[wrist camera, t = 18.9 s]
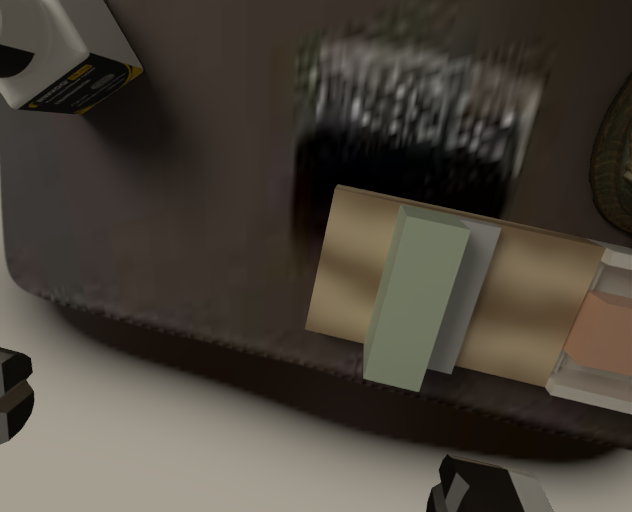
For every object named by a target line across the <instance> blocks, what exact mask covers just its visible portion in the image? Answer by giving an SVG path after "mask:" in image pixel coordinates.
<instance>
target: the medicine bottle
mask: <svg viewBox="0 0 632 512" xmlns="http://www.w3.org/2000/svg"><path fill="white" fill-rule="evenodd" d="M142 72H143V67H142V65H141V64H140V62H139V60H138V58H137V57H136V55H135V53H134V52H133V50H132V48H131V46H130V45H129V43H128V41H127V40H126V38H125V36H124V34H123V33H122V31H121V29H120V28H119V26H118V24H117V22H116V21H115V19H114V17H113V16H112V14H111V12H110V10H109V9H108V7H107V5H106V4H105V2H104V0H0V92H1V94H2V95H3V97H4V98H5V100H6V101H7V103H8V104H9V106H10V107H11V108H14V109H19V110H31V111H43V112H55V113H67V114H79V115H80V114H83V113H85V112H86V111H88V110H89V109H90V108H92V107H93V106H95V105H96V104H98V103H99V102H101V101H102V100H103V99H105V98H106V97H108V96H109V95H111V94H112V93H114V92H115V91H116V90H118V89H119V88H121V87H122V86H124V85H125V84H127V83H128V82H129V81H131V80H132V79H134V78H135V77H137V76H138V75H140V74H141V73H142Z"/></svg>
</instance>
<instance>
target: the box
mask: <svg viewBox="0 0 632 512" xmlns="http://www.w3.org/2000/svg"><path fill="white" fill-rule="evenodd" d="M586 239H587V238H586ZM588 240H590V241H592V242H594V243H597V244H599V245H601V246H603V247H605V248H606V250H605V252H604V254H603V256H602V259H601V261H600V263H599V265H598V268H597V270H596V272H595V275H594V277H593V279H592V281H591V284H590V286H589V288H588V289H591V290H595V291H600V292H605V293H609V294H614V295H619V296H623V297H628V298H632V248H628V247H624V246H619V245H614V244H610V243H605V242H601V241H596V240H591V239H588ZM545 388H546V389H547V391H548V392H549V393H550V395H553V396H557V397H562V398H566V399H570V400H574V401H578V402H582V403H586V404H591V405H595V406H599V407H603V408H607V409H611V410H615V411H619V412H624V413H628V414H632V376H629V375H624V374H620V373H615V372H610V371H606V370H601V369H596V368H592V367H587V366H582V365H578V364H577V363H576V362H575V361H574V360H573V359H572V358H571V357H570V356H569V355H568V354H567V353H566V352H565V351H564V350H563V349H562V350H561V352H560V354H559V357H558V359H557V361H556V363H555V366H554V368H553V370H552V373H551V375H550V377H549V379H548V382H547V384H546V386H545Z"/></svg>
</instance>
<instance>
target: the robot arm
mask: <svg viewBox="0 0 632 512" xmlns="http://www.w3.org/2000/svg"><path fill="white" fill-rule="evenodd" d="M32 373H33V371H32V363H31V358H30V357H28V356H27V355H25V354H23V353H19V352H16V351H12V350H8V349H4V348H1V347H0V444H2V443H5V442H7V441H9V440H10V439H11V438H12V437H14V436H15V435H16V434H17V433H18V432H19V431H20V430H21V429H22V428H23V426H24V425H25V423H26V421H27V420H28V418H29V417H30V415H31V413H32V409H33V405H34V391H33V389H32V388H31V386H30V385H29V384H28V382H27V381H26V379H27V378H28V377H29V376H30V375H31V374H32ZM439 473H440V479H441V483H440V484H438V485H436V486H435V487H433V488H432V489H431V493H430V496H429V499H428V502H427V509H426V512H554V511H553V509H552V507H551V505H550V503H549V501H548V499H547V497H546V495H545V493H544V491H543V489H542V487H541V485H540V483H539V481H538V479H537V478H536V477H535V476H534V475H533V474H532V473H531V472H526V471H522V470H517V469H512V468H508V467H500V466H497V465H492V464H488V463H484V462H479V461H475V460H471V459H466V458H462V457H458V456H453V455H449V454H447V455H446V456H445V458H444V459H443V460H442V463H441V466H440V468H439Z"/></svg>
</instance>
